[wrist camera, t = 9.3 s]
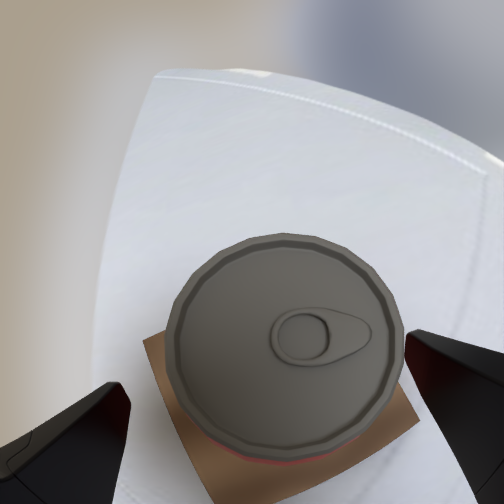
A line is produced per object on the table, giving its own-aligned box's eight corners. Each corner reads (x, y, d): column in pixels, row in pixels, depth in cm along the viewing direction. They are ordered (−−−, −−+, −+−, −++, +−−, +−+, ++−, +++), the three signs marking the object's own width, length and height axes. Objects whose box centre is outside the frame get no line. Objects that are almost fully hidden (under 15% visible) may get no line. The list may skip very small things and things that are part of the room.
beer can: (335, 435, 14) (435, 457, 4) (225, 438, 14) (131, 466, 4) (330, 336, 18) (394, 213, 7) (228, 338, 18) (165, 220, 8)
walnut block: (406, 419, 16) (420, 420, 13) (231, 507, 14) (223, 518, 12) (315, 270, 23) (317, 255, 20) (157, 347, 21) (142, 340, 19)
